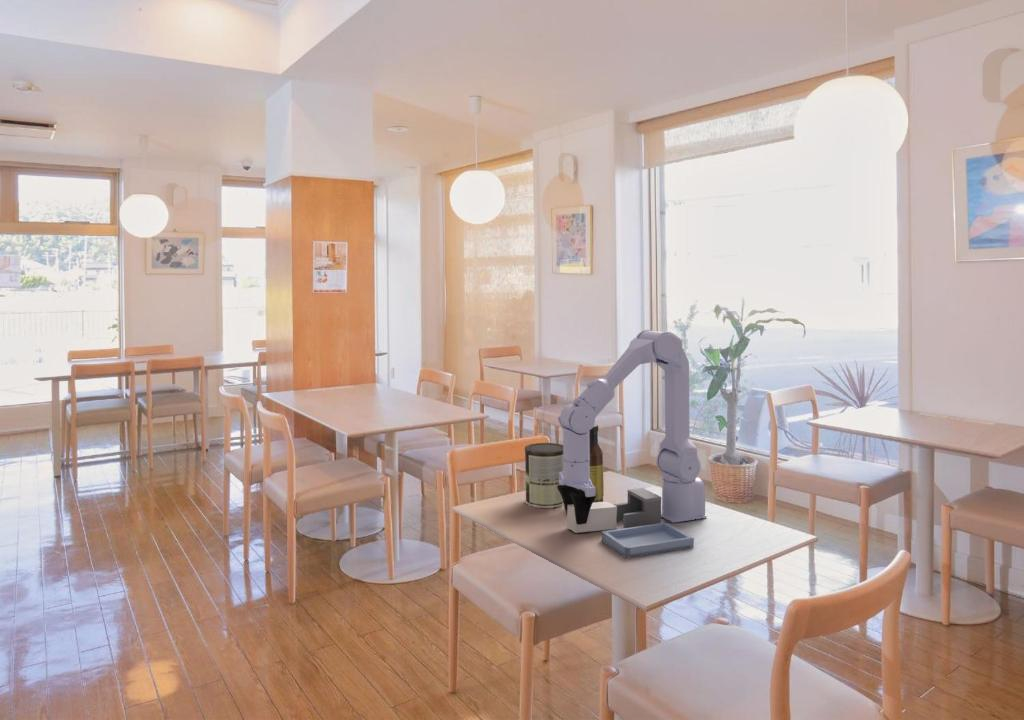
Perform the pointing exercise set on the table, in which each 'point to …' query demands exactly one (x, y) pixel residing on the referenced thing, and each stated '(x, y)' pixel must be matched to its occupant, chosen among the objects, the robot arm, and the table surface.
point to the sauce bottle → (596, 464)
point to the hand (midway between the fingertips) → (576, 520)
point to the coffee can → (543, 474)
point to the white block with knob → (594, 518)
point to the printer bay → (640, 508)
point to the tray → (647, 539)
